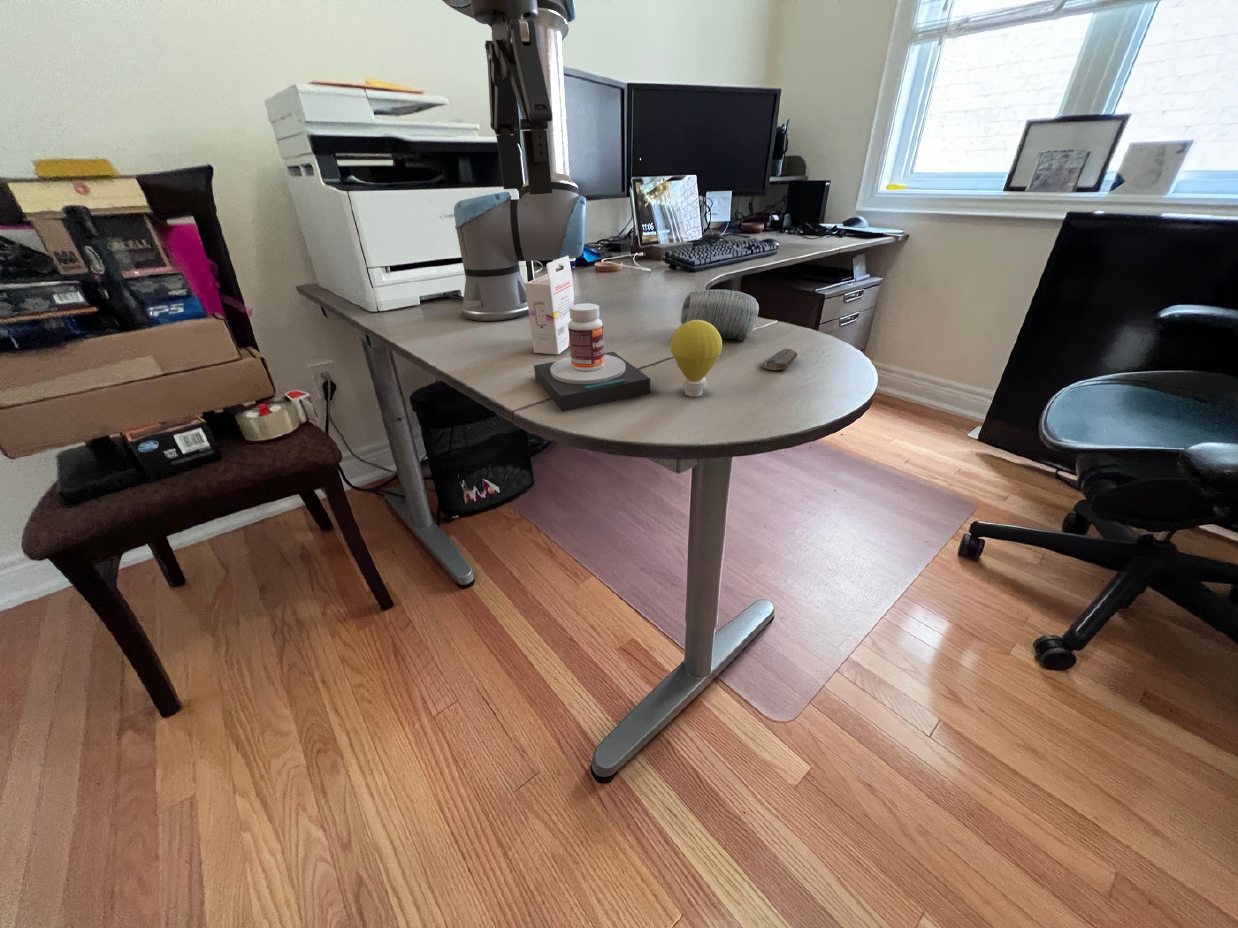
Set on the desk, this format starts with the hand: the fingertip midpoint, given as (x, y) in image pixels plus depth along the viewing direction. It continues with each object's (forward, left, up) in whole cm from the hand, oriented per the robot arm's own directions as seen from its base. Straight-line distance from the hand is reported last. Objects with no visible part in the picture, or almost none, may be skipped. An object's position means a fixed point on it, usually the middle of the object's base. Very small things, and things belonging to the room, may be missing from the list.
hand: (526, 191), depth 66 cm
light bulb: (+20, +15, -25) cm, 36 cm away
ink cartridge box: (-9, +4, -25) cm, 27 cm away
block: (+17, +32, -25) cm, 44 cm away
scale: (+11, +3, -25) cm, 27 cm away
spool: (0, +32, -25) cm, 41 cm away
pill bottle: (+10, +3, -22) cm, 25 cm away
